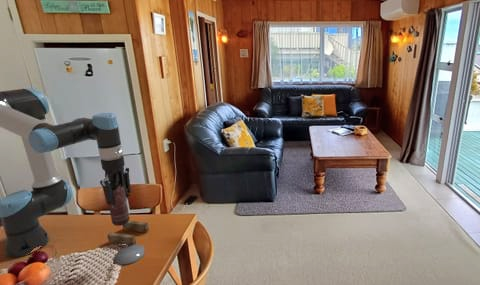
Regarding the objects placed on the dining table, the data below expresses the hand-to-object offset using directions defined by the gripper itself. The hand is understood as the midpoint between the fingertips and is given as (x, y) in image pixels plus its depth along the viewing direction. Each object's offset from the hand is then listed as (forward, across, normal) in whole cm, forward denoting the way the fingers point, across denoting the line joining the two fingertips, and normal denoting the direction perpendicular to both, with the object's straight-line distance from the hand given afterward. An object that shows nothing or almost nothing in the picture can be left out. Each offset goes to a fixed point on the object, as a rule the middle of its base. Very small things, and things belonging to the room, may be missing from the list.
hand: (122, 215), depth 110 cm
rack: (+17, +11, +8) cm, 22 cm away
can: (+2, -1, 0) cm, 2 cm away
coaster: (+17, 0, 0) cm, 17 cm away
